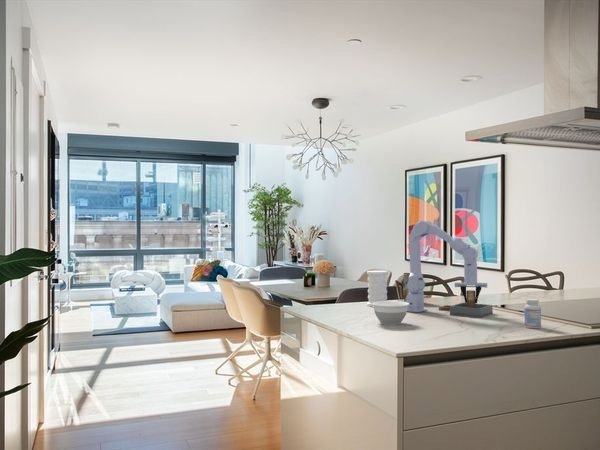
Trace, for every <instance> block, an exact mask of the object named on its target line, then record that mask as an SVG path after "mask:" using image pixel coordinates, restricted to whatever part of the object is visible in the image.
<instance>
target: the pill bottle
mask: <svg viewBox="0 0 600 450" xmlns="http://www.w3.org/2000/svg"><path fill="white" fill-rule="evenodd" d="M525 303H526V304H525V305H524V308H523V309H524V313H523V314H524V316H523V317H524V327H525V328H527V329H533V330H534V329H541V328H542V309H541V308H542V307H541V306H540V305H539V303H540V301H539V299H538V298H526V299H525Z"/></svg>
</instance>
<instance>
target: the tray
mask: <svg viewBox="0 0 600 450" xmlns="http://www.w3.org/2000/svg"><path fill="white" fill-rule="evenodd" d="M493 313H494V312H493V304H485V303H476V308H469V307H467V303H465V302H460V303H456V304H453V305H451V306H450V311H449V316H459V317H468V318H469V317H470V318H479V319H480V318H484V317H486V316H489V315H493Z"/></svg>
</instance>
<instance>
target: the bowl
mask: <svg viewBox="0 0 600 450" xmlns="http://www.w3.org/2000/svg"><path fill="white" fill-rule="evenodd" d="M372 305H373V306H374V307H373V311H374V315H375V316H376V318H377V319H378V320H379V322H380V324H381V325H384V326H399V325H401V324H402V322H403V320H404V319H405V318H406V315H407V312H408V311H407V306H408V305H409V303H407V302H404V301H401V300H398V301H397V300H387V301H379V302H373V303H372Z"/></svg>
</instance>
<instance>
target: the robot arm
mask: <svg viewBox="0 0 600 450" xmlns="http://www.w3.org/2000/svg"><path fill="white" fill-rule="evenodd" d="M427 235H434V236H437V237H438V238H441V239H442V240H443V241H445V242H446V243H448V244H449V248H450V249H451V250H452V251H455V252H456V253H458V254H459V255H461V256H462V257H463V259H464V260H463V269H464V271H463V272H464V273H463V277H464V282H454V288H460V290H461V293H462V296H463V298H464V303H467V294H466V291H467V288H475V295H476V304H478V299H479V296H480V293H481V291H482V288H485V289H486V288H488V283H487V282H478V262H477V261H478V259H477V258H478V255H479V252H478V250H477V249H476V247H471V244H468V243H466V242H464V241H463V239H462V238H461V237H452V236H451V235H450V234H449V233H447V232H446V231H445V230H443V229H442V228H440V227H439V226H438V225H436V224H435V223H432V222H431V221H430V220H425V221H423V220H419V221H417V222H416V223H415V224H413V227H412V229H411V232H410V234H409V236H408V245H409V247H408V248H409V249H408V250H409V270H410V272H409V273H410V275H409V281H408V283H407V288H408V290H409V294H408V295H407V296H406V302H407V303H409V305H408V306H407V312H412V313H421V312H425V311H427V310H428V308H425V296H424V295H425V293H424V289H425V288H426V287H425V286H426V282H425V280H424V275H423V273H422V262H421V240H422V239H423V238H424V237H425V236H427Z"/></svg>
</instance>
